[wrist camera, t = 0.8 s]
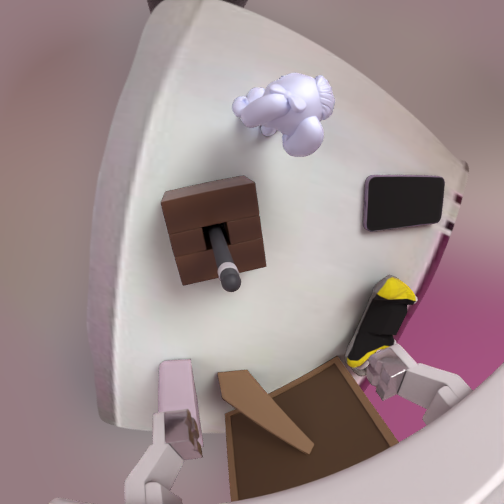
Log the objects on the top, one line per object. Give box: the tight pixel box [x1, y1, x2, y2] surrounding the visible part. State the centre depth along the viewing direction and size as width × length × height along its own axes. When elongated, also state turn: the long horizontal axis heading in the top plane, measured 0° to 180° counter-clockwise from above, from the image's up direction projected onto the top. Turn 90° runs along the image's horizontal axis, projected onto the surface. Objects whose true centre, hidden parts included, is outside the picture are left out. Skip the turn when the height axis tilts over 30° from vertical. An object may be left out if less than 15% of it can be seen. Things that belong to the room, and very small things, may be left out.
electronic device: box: [158, 359, 203, 447], centre depth 32 cm, size 10×5×10 cm, turn 178°
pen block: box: [161, 175, 266, 285], centre depth 27 cm, size 8×8×5 cm
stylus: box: [207, 224, 241, 292], centre depth 23 cm, size 1×1×14 cm
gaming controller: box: [345, 275, 418, 368], centre depth 38 cm, size 15×6×10 cm
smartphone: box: [363, 175, 445, 232], centre depth 33 cm, size 7×1×15 cm
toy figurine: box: [232, 73, 335, 157], centre depth 20 cm, size 7×6×12 cm
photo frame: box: [218, 356, 399, 502], centre depth 30 cm, size 15×22×25 cm
